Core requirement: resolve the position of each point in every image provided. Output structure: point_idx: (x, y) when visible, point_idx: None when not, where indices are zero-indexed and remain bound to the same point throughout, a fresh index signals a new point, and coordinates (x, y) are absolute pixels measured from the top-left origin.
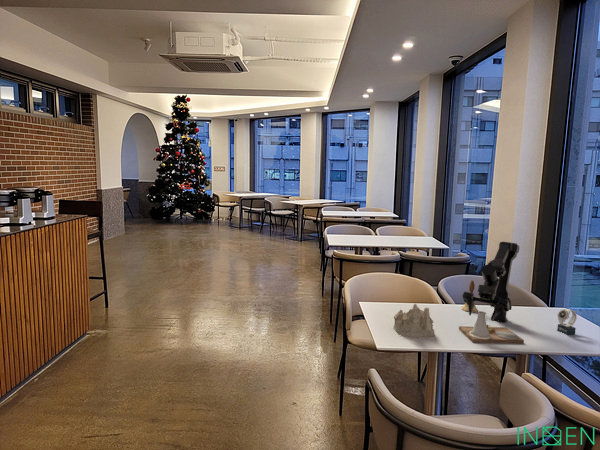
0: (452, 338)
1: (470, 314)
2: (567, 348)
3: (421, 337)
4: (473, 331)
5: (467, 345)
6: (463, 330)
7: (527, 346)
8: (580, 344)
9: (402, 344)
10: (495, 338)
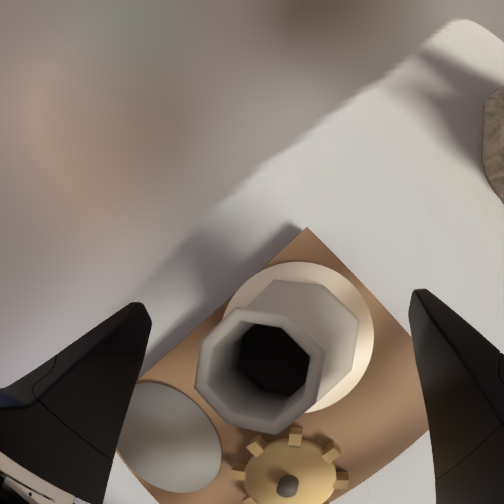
0: (417, 205)
1: (413, 310)
2: None
3: (484, 108)
4: (334, 302)
5: (310, 169)
6: None
7: None
8: None
9: (457, 38)
10: (196, 352)
